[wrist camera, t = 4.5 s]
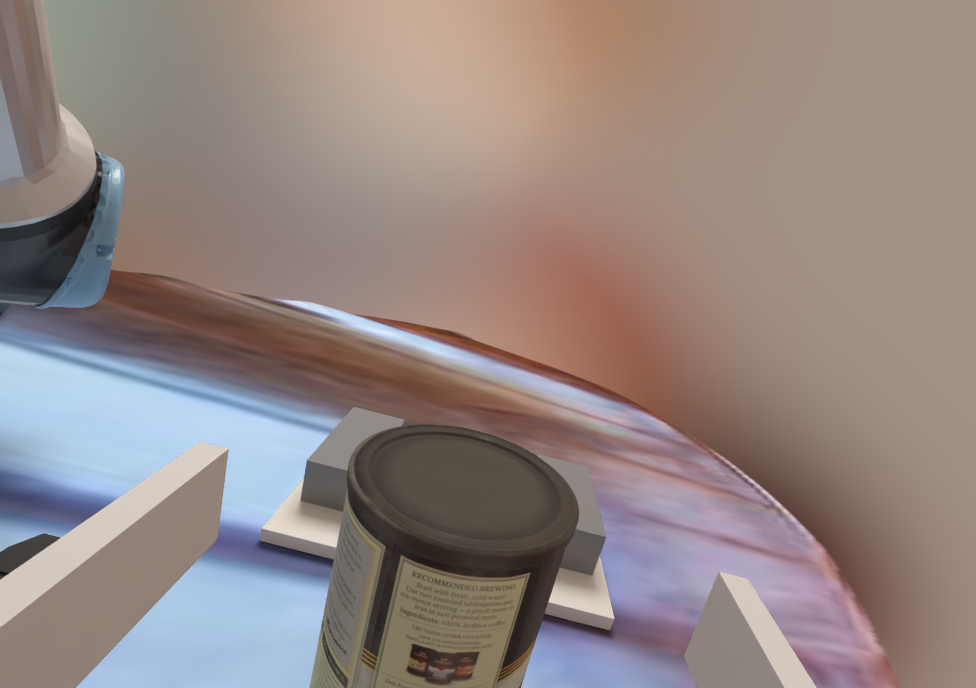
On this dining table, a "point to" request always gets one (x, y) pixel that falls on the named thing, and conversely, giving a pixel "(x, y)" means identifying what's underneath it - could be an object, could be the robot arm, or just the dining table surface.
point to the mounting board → (319, 536)
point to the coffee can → (442, 561)
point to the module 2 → (581, 518)
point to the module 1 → (340, 457)
